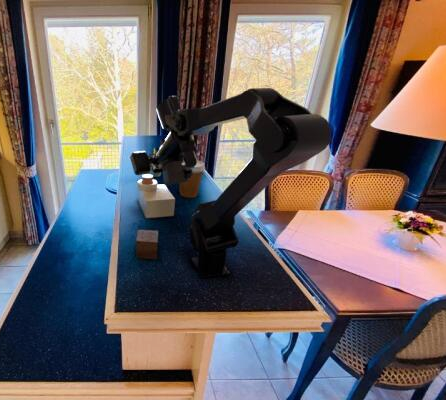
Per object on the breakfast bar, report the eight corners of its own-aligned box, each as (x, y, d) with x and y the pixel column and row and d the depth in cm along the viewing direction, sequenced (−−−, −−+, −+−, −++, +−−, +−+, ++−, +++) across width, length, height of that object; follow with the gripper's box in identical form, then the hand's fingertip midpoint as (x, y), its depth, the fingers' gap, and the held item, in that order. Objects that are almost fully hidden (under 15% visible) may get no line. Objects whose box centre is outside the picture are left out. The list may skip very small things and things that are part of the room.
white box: (173, 215, 83) (175, 192, 80) (143, 218, 82) (144, 195, 78) (162, 198, 95) (163, 177, 92) (135, 200, 94) (135, 179, 90)
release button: (153, 184, 87) (154, 177, 86) (143, 185, 86) (143, 178, 85) (151, 180, 90) (151, 173, 89) (140, 181, 89) (141, 174, 88)
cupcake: (142, 173, 119) (142, 147, 113) (158, 170, 122) (159, 145, 117) (151, 179, 112) (152, 152, 106) (168, 176, 115) (170, 149, 110)
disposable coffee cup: (202, 200, 93) (206, 168, 88) (174, 198, 95) (177, 166, 90) (201, 190, 101) (204, 160, 96) (175, 188, 103) (178, 158, 98)
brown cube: (156, 259, 64) (157, 242, 62) (136, 257, 64) (136, 240, 62) (157, 247, 68) (158, 230, 66) (137, 245, 69) (138, 229, 67)
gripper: (149, 179, 62) (132, 202, 76) (216, 169, 68) (189, 192, 82) (137, 138, 65) (123, 168, 79) (201, 132, 71) (178, 161, 85)
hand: (154, 173), depth 81 cm, fingers closed
